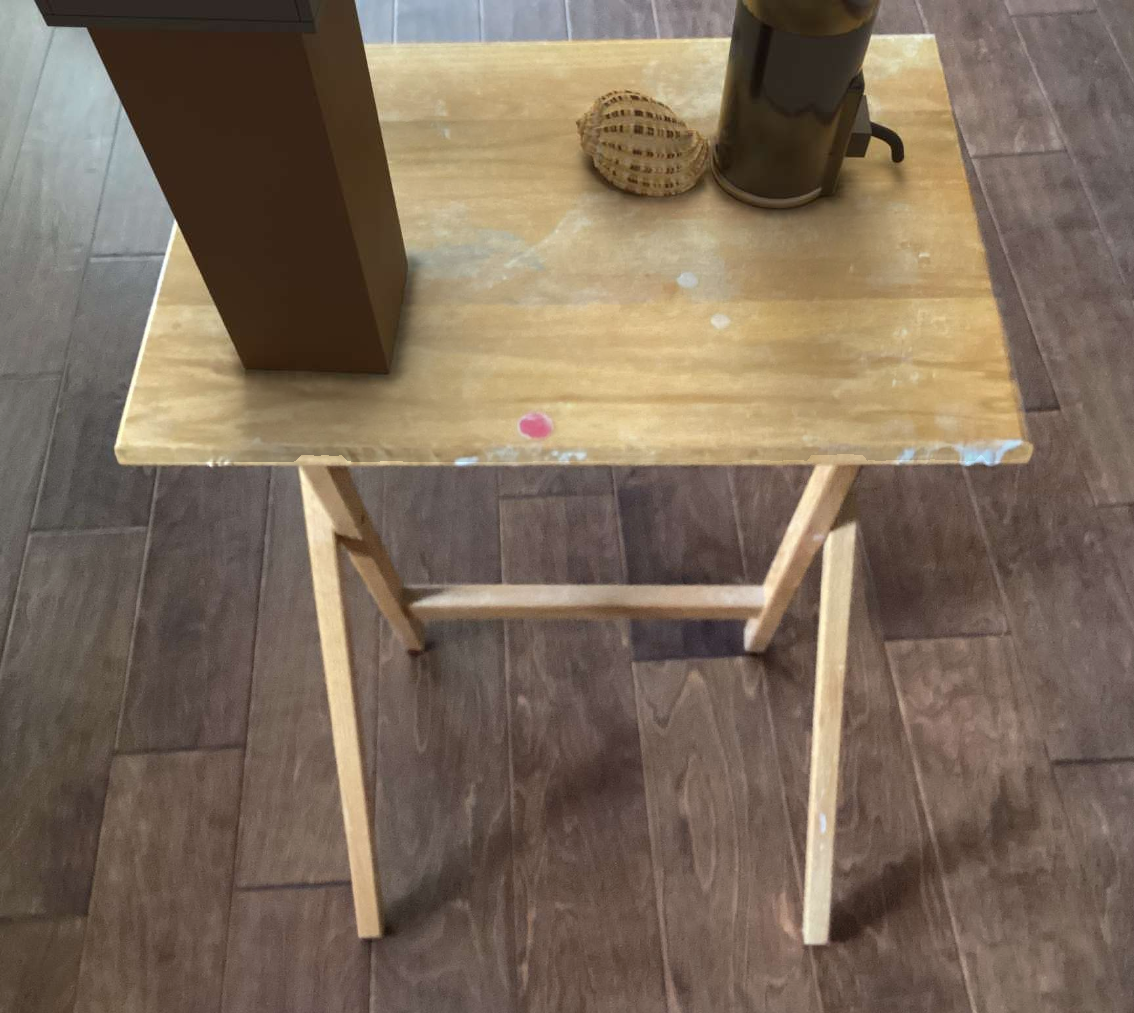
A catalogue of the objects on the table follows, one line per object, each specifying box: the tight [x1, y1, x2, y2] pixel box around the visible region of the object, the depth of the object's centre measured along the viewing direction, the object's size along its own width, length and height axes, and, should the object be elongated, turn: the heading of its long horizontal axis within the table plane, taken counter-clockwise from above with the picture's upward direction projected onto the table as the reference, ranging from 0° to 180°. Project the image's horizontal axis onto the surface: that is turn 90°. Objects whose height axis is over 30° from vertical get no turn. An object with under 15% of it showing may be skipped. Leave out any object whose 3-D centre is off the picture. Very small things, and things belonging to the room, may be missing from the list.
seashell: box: [575, 90, 712, 197], centre depth 75 cm, size 8×6×10 cm
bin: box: [33, 0, 409, 374], centre depth 56 cm, size 12×12×32 cm
